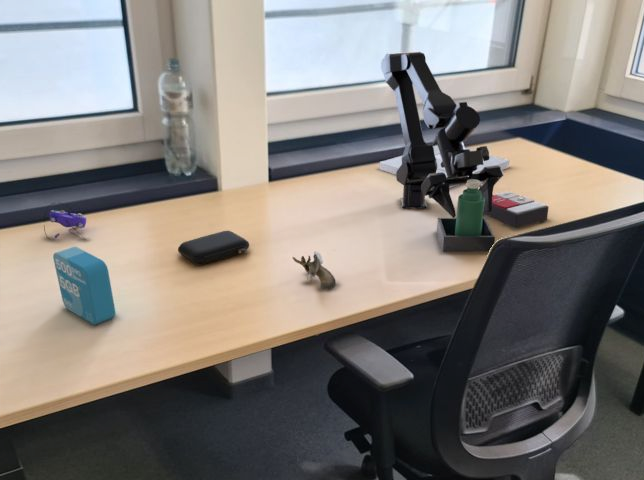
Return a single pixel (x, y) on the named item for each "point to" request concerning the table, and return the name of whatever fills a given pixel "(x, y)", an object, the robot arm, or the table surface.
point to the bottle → (470, 210)
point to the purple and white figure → (67, 220)
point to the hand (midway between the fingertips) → (472, 214)
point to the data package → (84, 285)
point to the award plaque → (395, 163)
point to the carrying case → (213, 247)
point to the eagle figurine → (317, 271)
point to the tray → (463, 237)
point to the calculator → (516, 209)
